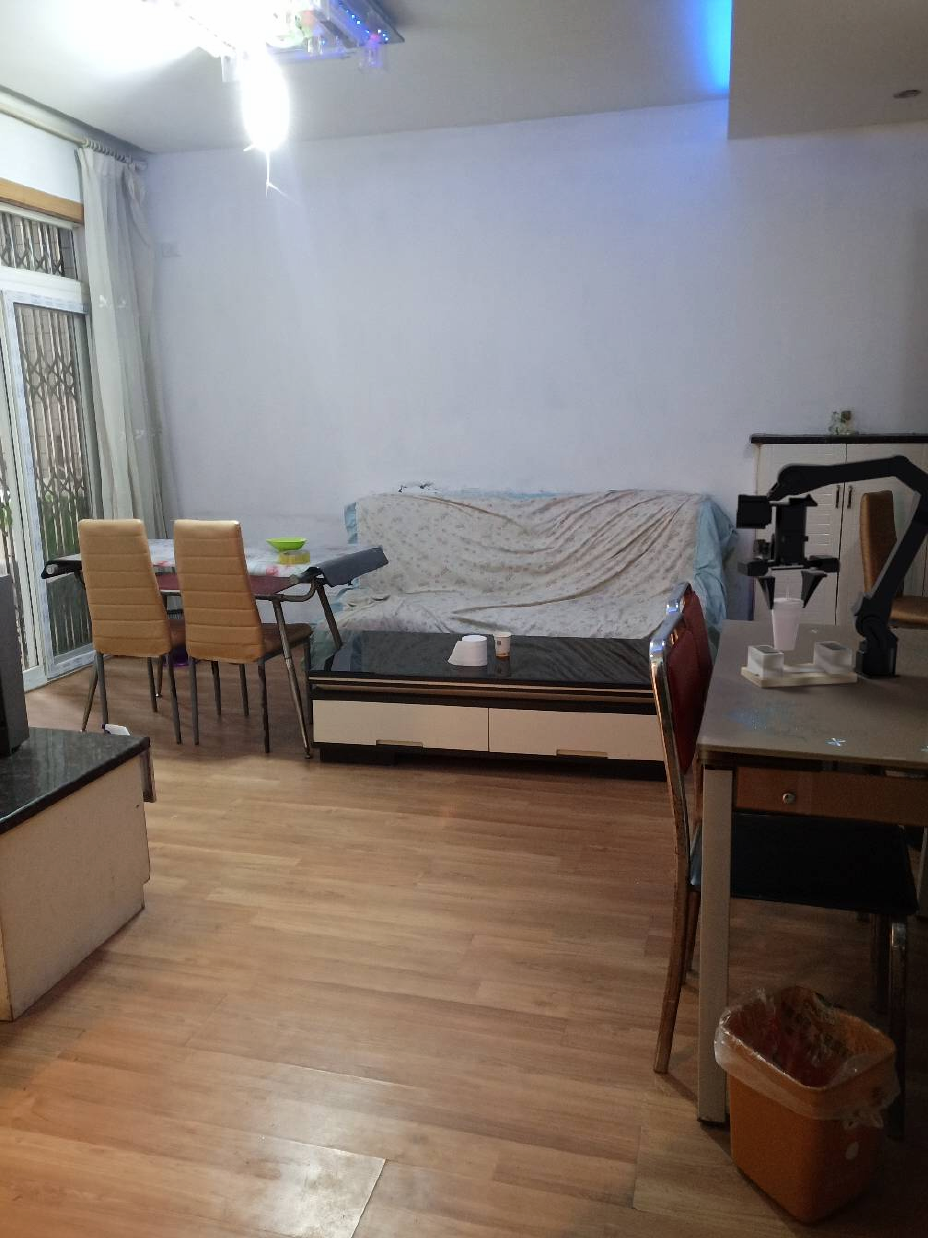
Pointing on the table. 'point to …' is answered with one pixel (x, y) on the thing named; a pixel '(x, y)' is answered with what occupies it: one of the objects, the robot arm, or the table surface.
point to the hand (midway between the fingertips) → (786, 608)
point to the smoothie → (786, 620)
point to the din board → (799, 666)
